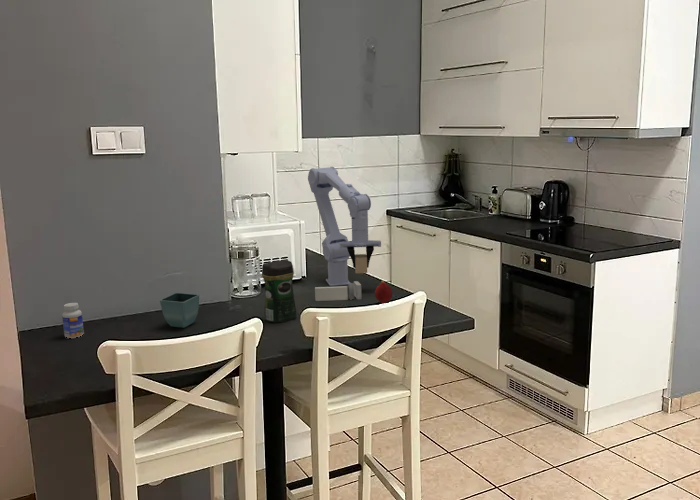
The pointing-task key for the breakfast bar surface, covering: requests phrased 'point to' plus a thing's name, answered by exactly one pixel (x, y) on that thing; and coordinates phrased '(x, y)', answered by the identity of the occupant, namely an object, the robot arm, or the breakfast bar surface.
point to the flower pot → (180, 309)
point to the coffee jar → (279, 291)
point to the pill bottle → (72, 321)
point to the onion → (383, 292)
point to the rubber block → (360, 263)
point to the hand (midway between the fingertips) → (360, 267)
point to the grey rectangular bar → (331, 293)
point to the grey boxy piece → (354, 290)
